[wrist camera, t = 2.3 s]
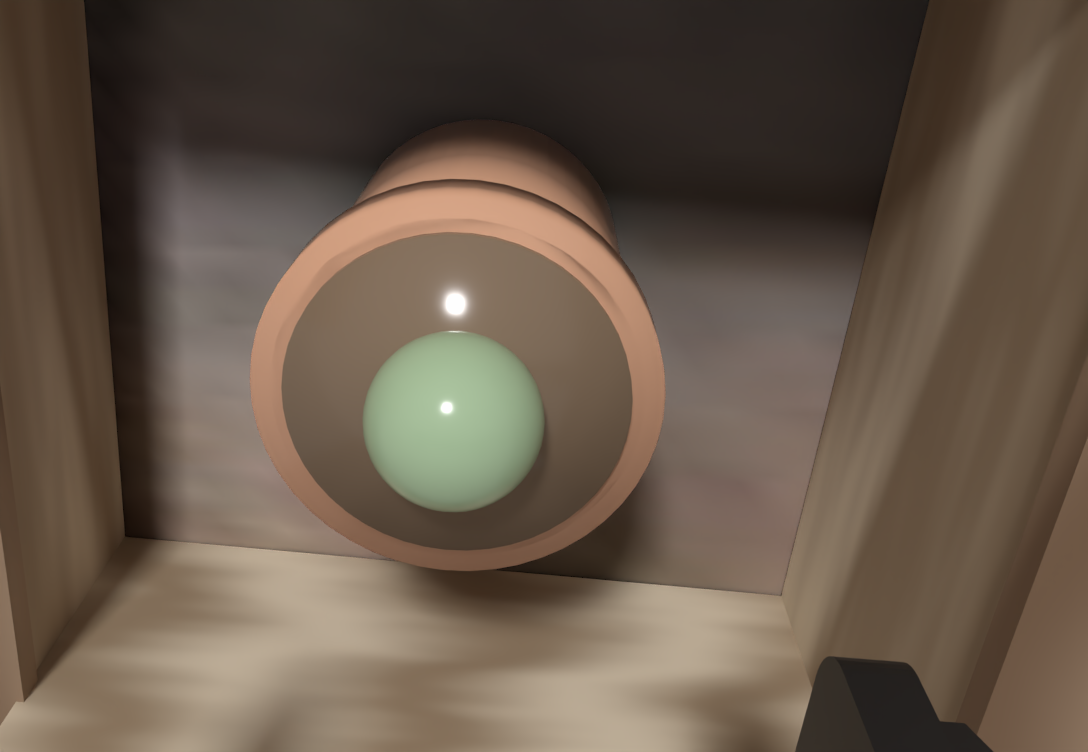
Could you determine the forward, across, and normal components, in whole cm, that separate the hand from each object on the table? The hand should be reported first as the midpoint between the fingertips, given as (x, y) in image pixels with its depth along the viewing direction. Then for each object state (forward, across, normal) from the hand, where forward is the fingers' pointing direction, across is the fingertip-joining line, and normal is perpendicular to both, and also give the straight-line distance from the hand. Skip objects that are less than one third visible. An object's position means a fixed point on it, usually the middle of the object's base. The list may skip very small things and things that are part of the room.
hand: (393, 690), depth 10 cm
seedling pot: (+13, 0, 0) cm, 13 cm away
